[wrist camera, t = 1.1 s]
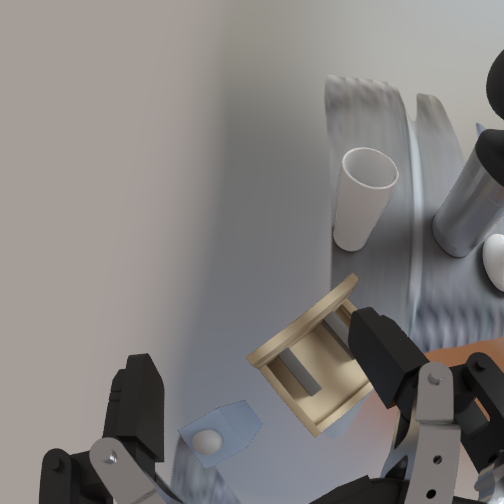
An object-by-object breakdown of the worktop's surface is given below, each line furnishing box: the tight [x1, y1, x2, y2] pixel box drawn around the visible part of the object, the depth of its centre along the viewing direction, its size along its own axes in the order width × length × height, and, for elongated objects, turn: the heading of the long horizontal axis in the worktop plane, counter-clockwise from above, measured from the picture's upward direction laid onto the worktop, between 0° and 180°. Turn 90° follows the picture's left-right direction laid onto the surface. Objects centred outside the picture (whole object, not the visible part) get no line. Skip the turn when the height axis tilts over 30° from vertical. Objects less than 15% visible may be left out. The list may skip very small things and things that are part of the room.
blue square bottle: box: [178, 400, 263, 469], centre depth 22 cm, size 4×4×16 cm
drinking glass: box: [333, 148, 398, 251], centre depth 33 cm, size 7×7×15 cm
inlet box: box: [246, 273, 374, 437], centre depth 27 cm, size 14×12×9 cm
